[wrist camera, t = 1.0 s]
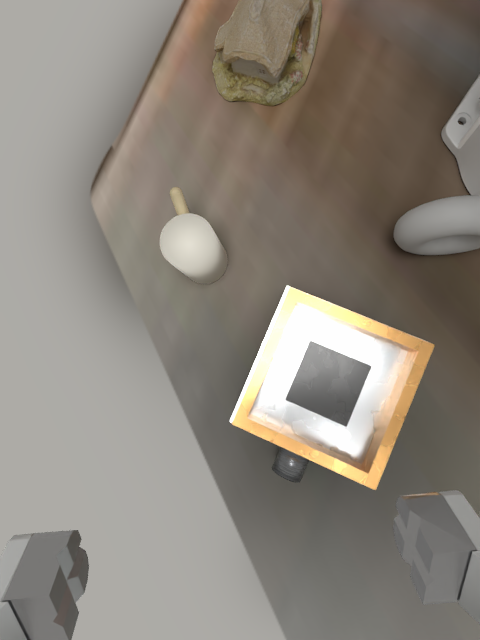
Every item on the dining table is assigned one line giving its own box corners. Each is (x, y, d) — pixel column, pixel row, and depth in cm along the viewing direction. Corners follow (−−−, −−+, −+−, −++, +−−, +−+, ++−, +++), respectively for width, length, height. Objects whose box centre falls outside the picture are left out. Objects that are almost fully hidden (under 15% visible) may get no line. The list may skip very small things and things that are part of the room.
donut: (479, 224, 43) (537, 185, 33) (481, 256, 43) (540, 226, 33) (382, 228, 44) (409, 192, 34) (383, 260, 44) (411, 232, 34)
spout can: (233, 276, 46) (221, 258, 37) (189, 290, 46) (167, 275, 38) (212, 206, 47) (196, 173, 38) (170, 220, 47) (144, 190, 39)
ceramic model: (288, 123, 47) (288, 60, 37) (200, 92, 48) (178, 24, 38) (336, 14, 47) (350, -77, 37) (248, -13, 49) (239, -107, 39)
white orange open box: (286, 294, 45) (286, 279, 36) (410, 344, 43) (443, 341, 34) (226, 438, 44) (210, 459, 35) (348, 495, 42) (365, 533, 33)
